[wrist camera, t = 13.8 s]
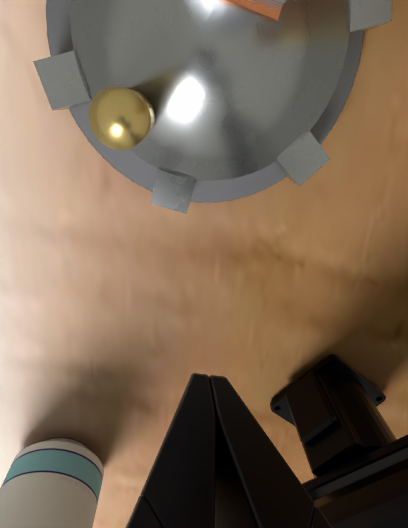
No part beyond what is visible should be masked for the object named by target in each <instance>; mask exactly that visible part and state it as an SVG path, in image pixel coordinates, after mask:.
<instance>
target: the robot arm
mask: <svg viewBox="0 0 408 528" xmlns="http://www.w3.org/2000/svg"><path fill="white" fill-rule="evenodd" d="M333 361H334V362H333ZM331 362H333V363H331ZM385 399H386V396H385V395H384V393H383V392H382V391H381V390H380V389H379V388H377V387H376V386H375V385H373V384H372V383H371V382H370V381H368V380H367V379H366V378H365V377H363V376H362V375H361V374H360V373H358V372H357V371H356V370H355V369H353V368H352V367H351V366H349V365H348V364H347V363H346V362H344V361H343V360H342V359H341V358H339V357H338V356H337V355H329V356H328V357H326V358H325V359H324V360H322V361H321V362H320V363H319V364H317V365H316V366H315V367H314V368H312V369H311V370H310V371H309V372H307V373H306V374H305V375H304V376H303V377H301V378H300V379H299V380H298V381H296V382H295V383H294V384H293V385H291V386H290V387H289V388H288V389H286V390H285V391H284V392H283V393H281V394H280V395H279V396H278V397H276V398H275V399H274V400H273V401H271V403H270V407H271V410H272V411H273V412H274V413H276V414H277V415H279V416H280V417H282V418H283V419H285V420H286V421H288V422H290V423H291V424H293V425H294V426H295V427H296V430H297V432H298V435H299V438H300V441H301V442H302V445H303V448H304V451H305V454H306V457H307V459H308V462H309V465H310V468H311V471H312V473H313V475H314V478H313V479H311V480H309V481H307V482H305V483H303V484H301V483H300V481H299V480H298V478H297V477H296V476H295V474H294V473H293V471H292V470H291V469H290V467H289V466H288V464H287V463H286V461H285V460H284V459H283V457H282V456H281V454H280V453H279V452H278V450H277V449H276V447H275V446H274V445H273V443H272V442H271V440H270V439H269V437H268V436H267V435H266V433H265V432H264V430H263V429H262V428H261V426H260V425H259V423H258V422H257V420H256V419H255V418H254V416H253V415H252V413H251V412H250V411H249V409H248V408H247V406H246V405H245V404H244V402H243V401H242V399H241V398H240V396H239V395H238V394H237V392H236V391H235V389H234V388H233V387H232V385H231V384H230V382H229V381H228V380H227V378H225V377H223V376H215V375H211V376H208V375H206V374H197V373H193V374H192V375H191V377H190V380H189V382H188V384H187V387H186V389H185V391H184V394H183V396H182V398H181V401H180V403H179V405H178V408H177V410H176V412H175V415H174V417H173V419H172V422H171V424H170V426H169V429H168V431H167V433H166V436H165V438H164V441H163V443H162V445H161V448H160V450H159V452H158V455H157V457H156V459H155V462H154V464H153V466H152V469H151V471H150V473H149V476H148V478H147V480H146V483H145V485H144V487H143V490H142V492H141V496H140V497H139V498H138V501H137V503H136V506H135V508H134V510H133V513H132V515H131V517H130V519H129V521H128V524H127V526H126V528H408V435H406V436H404V437H402V438H400V439H396V438H395V436H394V435H393V433H392V431H391V430H390V428H389V427H388V425H387V423H386V422H385V420H384V419H383V417H382V416H381V414H380V412H379V411H378V409H377V408H376V406H378V405H379V404H381V403H382V402H383V401H384V400H385Z"/></svg>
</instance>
